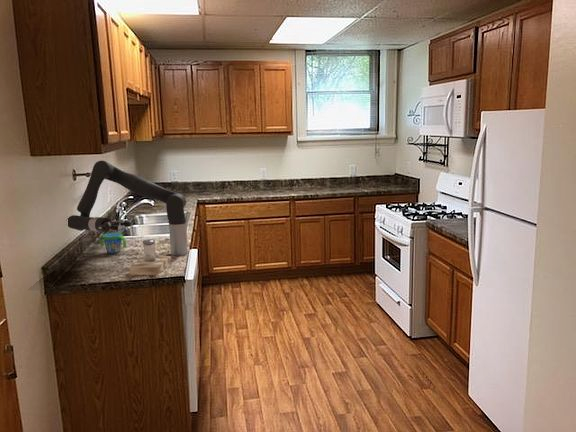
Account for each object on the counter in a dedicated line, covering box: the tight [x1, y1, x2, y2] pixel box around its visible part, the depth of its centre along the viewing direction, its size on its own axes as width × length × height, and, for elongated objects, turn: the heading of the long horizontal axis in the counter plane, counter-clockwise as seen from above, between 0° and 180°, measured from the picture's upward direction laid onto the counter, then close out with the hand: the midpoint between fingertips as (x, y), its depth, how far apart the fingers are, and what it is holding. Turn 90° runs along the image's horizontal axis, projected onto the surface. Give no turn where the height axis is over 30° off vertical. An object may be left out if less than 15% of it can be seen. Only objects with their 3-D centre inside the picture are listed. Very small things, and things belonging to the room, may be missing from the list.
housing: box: [142, 238, 157, 262], centre depth 225 cm, size 6×6×10 cm
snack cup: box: [100, 232, 127, 254], centre depth 260 cm, size 16×10×10 cm
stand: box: [129, 255, 172, 276], centre depth 226 cm, size 18×14×4 cm
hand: (124, 226), depth 231 cm, fingers open, 8 cm apart
